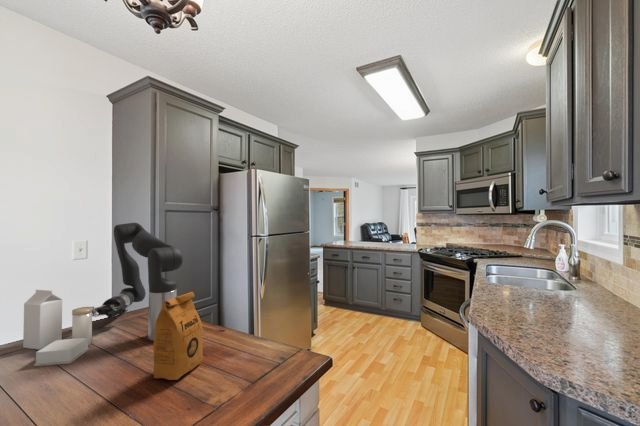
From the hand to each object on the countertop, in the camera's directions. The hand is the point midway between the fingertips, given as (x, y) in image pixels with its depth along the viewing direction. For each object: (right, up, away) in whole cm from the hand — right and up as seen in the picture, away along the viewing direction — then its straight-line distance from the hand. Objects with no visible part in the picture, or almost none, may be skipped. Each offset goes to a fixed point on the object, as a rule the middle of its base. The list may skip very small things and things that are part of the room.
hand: (95, 317), depth 111 cm
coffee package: (+45, -7, -26) cm, 52 cm away
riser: (+4, -6, -18) cm, 20 cm away
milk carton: (-11, -7, -9) cm, 16 cm away
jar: (+2, -6, -9) cm, 11 cm away
